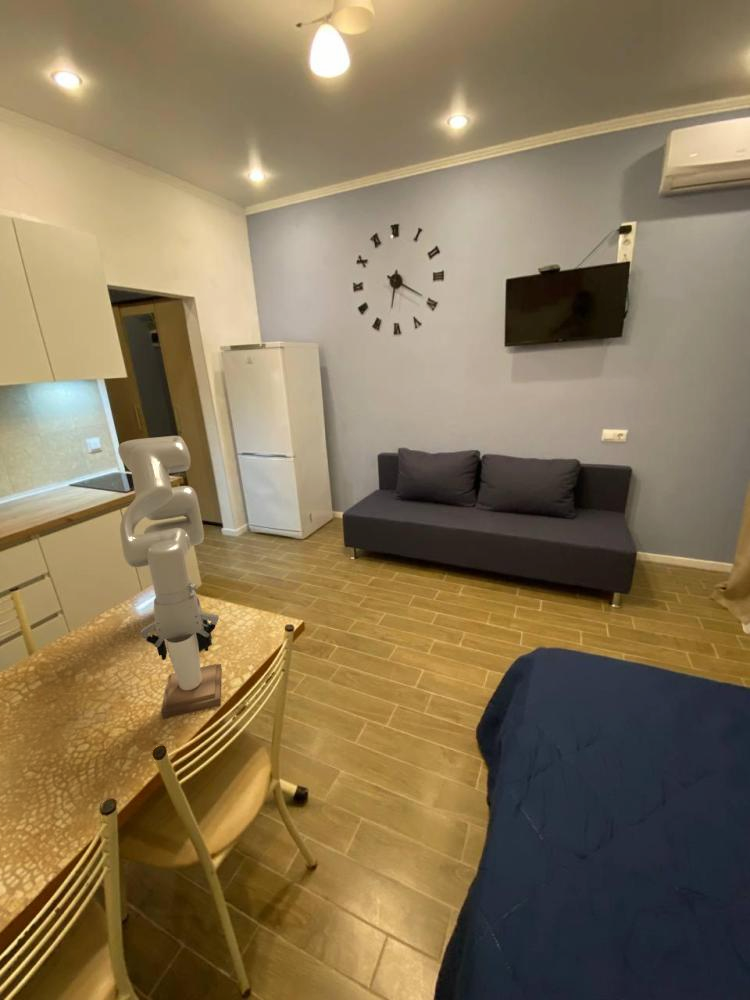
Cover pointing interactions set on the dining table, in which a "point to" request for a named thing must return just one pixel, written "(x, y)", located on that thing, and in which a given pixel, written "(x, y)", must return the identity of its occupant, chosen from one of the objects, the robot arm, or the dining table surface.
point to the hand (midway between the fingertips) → (186, 651)
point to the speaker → (200, 637)
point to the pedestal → (193, 693)
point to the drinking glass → (185, 660)
